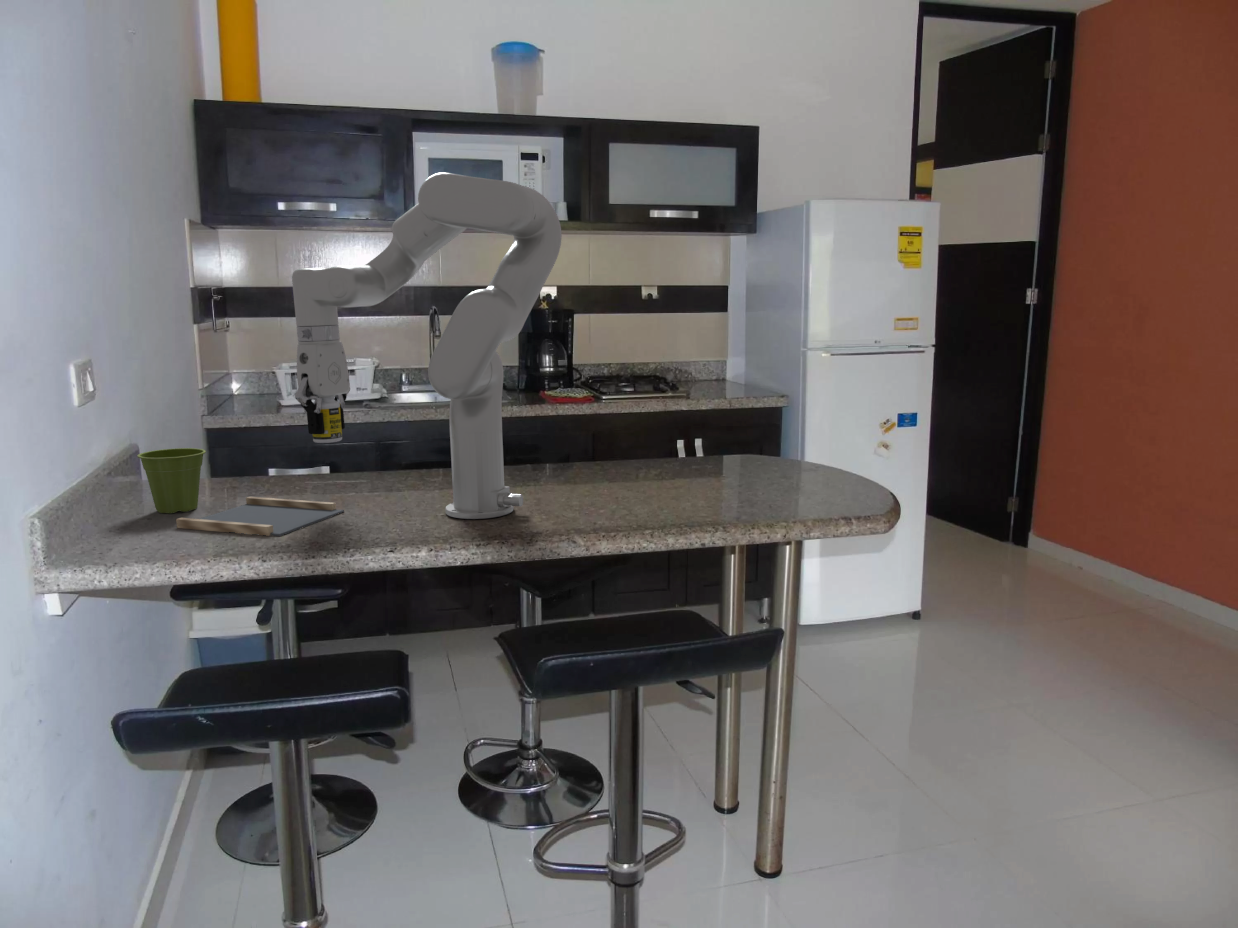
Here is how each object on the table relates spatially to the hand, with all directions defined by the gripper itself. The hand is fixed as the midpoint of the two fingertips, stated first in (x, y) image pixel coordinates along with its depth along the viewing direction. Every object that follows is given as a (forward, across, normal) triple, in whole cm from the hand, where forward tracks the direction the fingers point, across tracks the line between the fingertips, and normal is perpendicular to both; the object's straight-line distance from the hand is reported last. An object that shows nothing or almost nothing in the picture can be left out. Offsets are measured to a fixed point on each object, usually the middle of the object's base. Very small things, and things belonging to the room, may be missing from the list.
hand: (327, 430), depth 175 cm
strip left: (+15, -21, +8) cm, 27 cm away
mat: (+15, -12, +6) cm, 20 cm away
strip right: (+15, -3, +8) cm, 17 cm away
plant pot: (+15, -10, +28) cm, 34 cm away
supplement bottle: (+2, 0, 0) cm, 2 cm away
